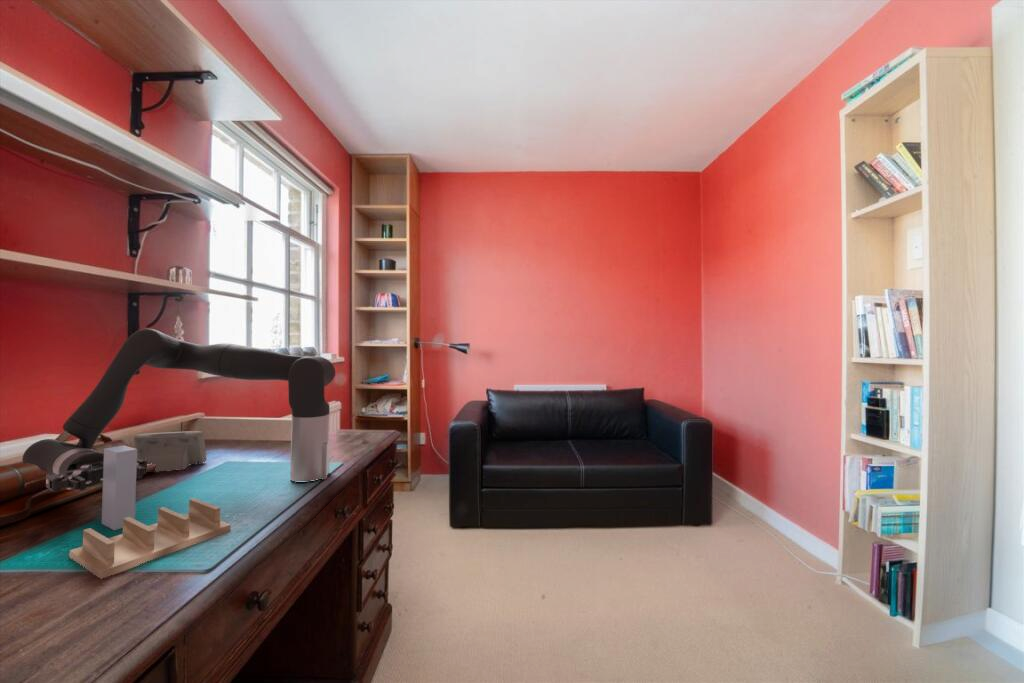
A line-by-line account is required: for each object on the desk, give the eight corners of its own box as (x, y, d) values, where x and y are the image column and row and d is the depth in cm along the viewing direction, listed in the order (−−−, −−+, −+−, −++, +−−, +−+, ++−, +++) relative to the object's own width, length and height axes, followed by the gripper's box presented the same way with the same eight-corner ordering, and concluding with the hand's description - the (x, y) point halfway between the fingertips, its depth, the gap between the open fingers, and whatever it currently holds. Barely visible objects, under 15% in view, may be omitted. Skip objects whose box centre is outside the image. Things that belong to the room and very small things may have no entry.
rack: (195, 516, 81) (196, 495, 81) (230, 530, 75) (231, 507, 75) (69, 557, 65) (70, 530, 65) (100, 579, 59) (101, 550, 59)
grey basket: (210, 462, 118) (211, 427, 118) (191, 472, 109) (192, 434, 109) (149, 464, 115) (150, 428, 115) (124, 474, 106) (126, 435, 106)
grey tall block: (121, 517, 80) (124, 445, 80) (134, 524, 77) (137, 449, 77) (101, 523, 77) (104, 448, 77) (114, 530, 75) (116, 452, 75)
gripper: (34, 458, 80) (62, 470, 73) (126, 443, 93) (158, 452, 85) (32, 494, 80) (61, 510, 72) (125, 474, 92) (157, 486, 85)
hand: (113, 478), depth 79 cm, fingers open, 8 cm apart
